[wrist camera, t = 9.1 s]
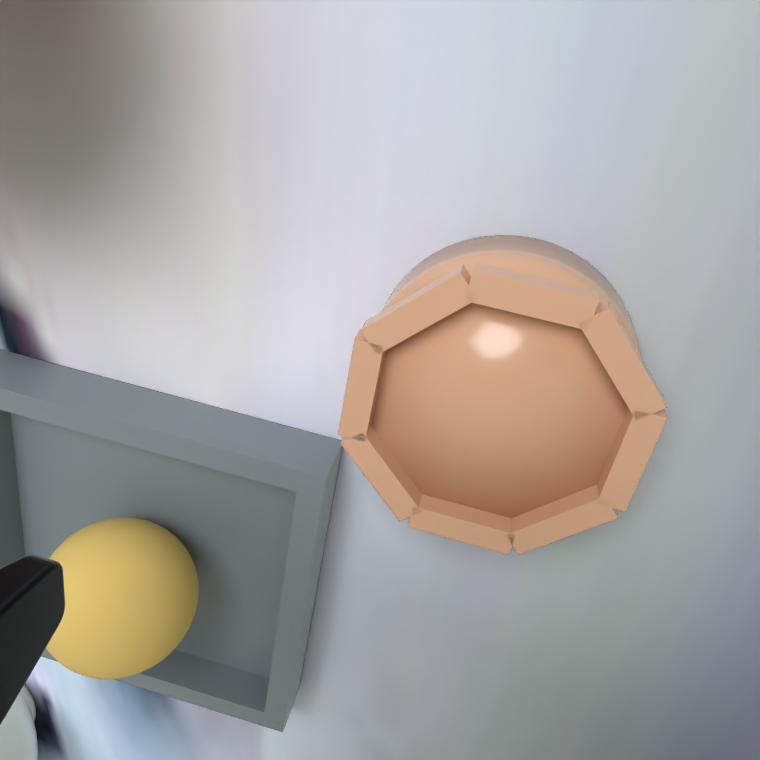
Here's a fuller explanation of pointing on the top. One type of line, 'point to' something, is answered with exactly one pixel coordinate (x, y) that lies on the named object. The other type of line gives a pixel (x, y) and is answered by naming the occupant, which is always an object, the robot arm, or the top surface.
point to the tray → (179, 517)
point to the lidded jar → (19, 729)
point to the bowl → (502, 396)
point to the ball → (123, 598)
